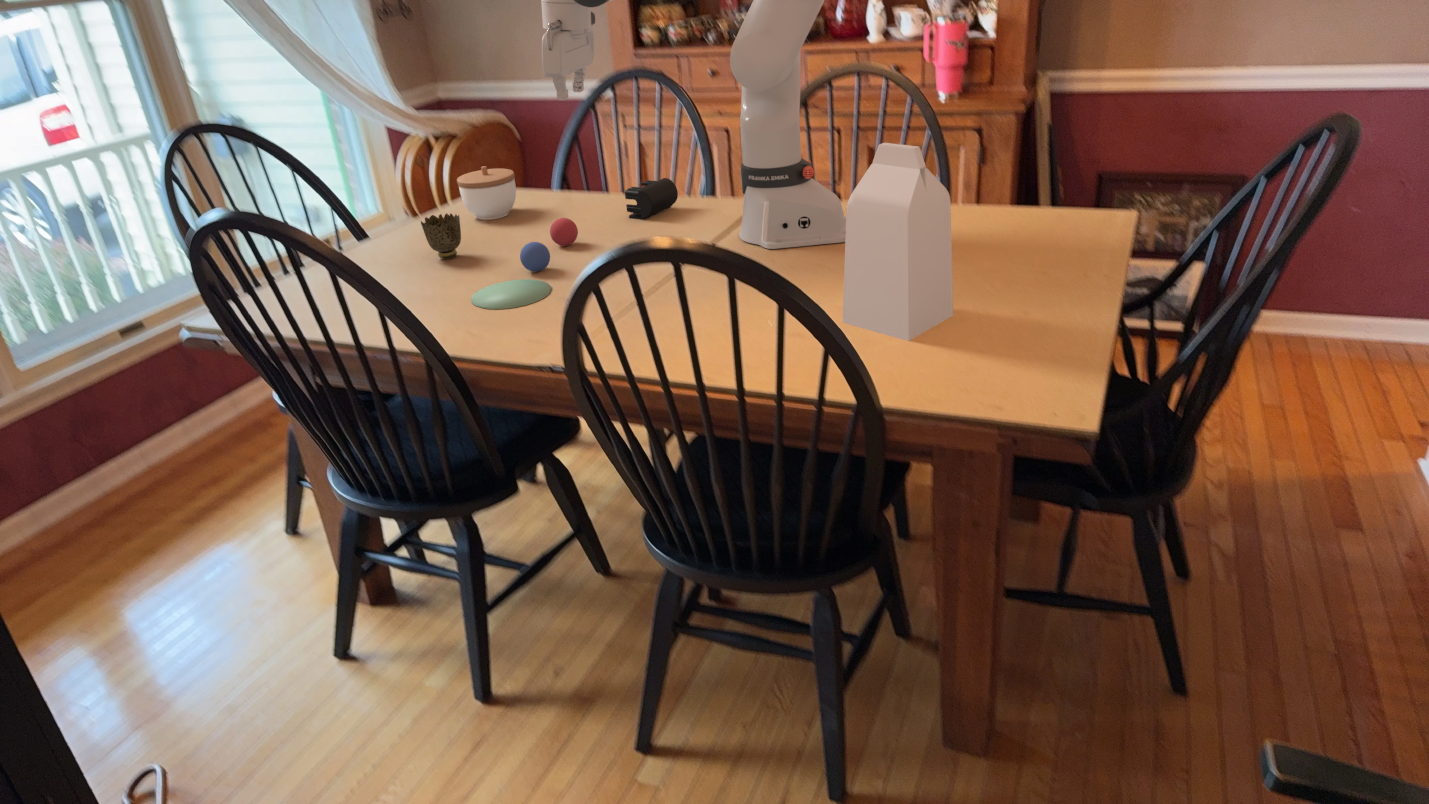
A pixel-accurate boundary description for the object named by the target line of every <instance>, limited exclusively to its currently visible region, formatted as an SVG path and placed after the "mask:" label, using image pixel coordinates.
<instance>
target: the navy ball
mask: <svg viewBox="0 0 1429 804" xmlns="http://www.w3.org/2000/svg"><path fill="white" fill-rule="evenodd" d="M519 253H520V254H519V259H520V262H521V265H523V267H524V268H525V269H526V270H527V271H530V272H534V273H536V272H537V273H538V272H541V271H543V270H545V269H546V268H547V267H548V266H549V264H550V262H551V253H550V251H549V249H548V247H547V246H546V245H544V243H542V242H539V241H530V242H528V243H526V244H525V245H524V246H523V247H522V249H520V252H519Z"/></svg>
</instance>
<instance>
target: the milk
mask: <svg viewBox="0 0 1429 804" xmlns="http://www.w3.org/2000/svg"><path fill="white" fill-rule="evenodd" d="M873 157H874V158H873V160H872V163H871V164H870V165H869V167H868V168H867V170H866V172H865V173H864V175H863V176H862V178H861V179H860V181H859V182H858V184H857V185H856V186H855V187H854V190H853V191H852V193H851V194H850V196H849V199H848V200H847V204H846V210H845V211H846V216H845V217H846V238H845V242H844V248H845V249H844V266H843V268H844V271H843V272H844V273H843V295H842V323H843V324H846V325H851V326H853V327H856V328H860V329H863V330H867V331H871V332H875V333H878V334H882V335H885V336H889V337H891V338H892V337H893V338H896V339H900V340H903V341H907V342H909V341H911V340H913V339H915V338H917V337H918V336H920V335H923V333H925V332H926V331H928V330H931V329H932V328H934V327H935V326H937V325H939V324H941V323H942V322H944V321H946V320H948V319H950V318H951V317H953V316H954V297H953V295H954V293H953V291H954V289H953V286H954V285H953V284H954V283H953V252H952V251H953V248H952V247H953V246H952V241H953V240H952V213H951V211H952V209H951V207H952V205H951V195H950V193H949V191H948V190H947V187H945V186H944V184H942V182H941V181H940V180H939V179H938V178H937V177H936V176H935V175H934V173H932V172H931V170H929V169H928V168H927V167H926V163H925V159H924V157H923V153H922V150H921V148H920V146H917V145H915V146H914V145H909V144H902V143H901V144H900V143H892V142H891V143H890V142H883V143H880V144H878V146H877V149H876V151H875V154H874V156H873Z"/></svg>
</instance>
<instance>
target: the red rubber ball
mask: <svg viewBox="0 0 1429 804" xmlns="http://www.w3.org/2000/svg"><path fill="white" fill-rule="evenodd" d="M549 234H550V235H549V236H550V238H551V240H552V241H553V242H554V243H555V244H556V245H558V246H561V247H566V246H567V247H568V246H570V245H572V244H573V243H575V241H576V240H577V238H578V235H579V230H578V227H577V225H576V223H575V222H574V220H572V219H569V218H567V217H560V218H557V219H555V220H554V222H552V223H551V225H550V229H549Z"/></svg>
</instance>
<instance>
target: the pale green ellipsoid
mask: <svg viewBox="0 0 1429 804" xmlns="http://www.w3.org/2000/svg"><path fill="white" fill-rule="evenodd" d="M551 292H552V286H551V285H550V284H549V283H548V282H547V281H544V280H539V279H529V278H525V279H523V278H522V279H512V280H507V281H501V282H497V283H494V284H493V283H492V284H489V285H487V286H485V287H483V288H481V289H479V290H477V291H475V293H473V294H472V296H471V299H470V300H471V304H472V305H473V306H475V307H477V308H480V309H485V310H486V309H487V310H506V309H507V310H508V309H514V308H519V307H524V306H528V305H531V304H534V303H536V302H539V301H541V300H543V299H544V298H546V297H547V296H549V295H550V294H551Z"/></svg>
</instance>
